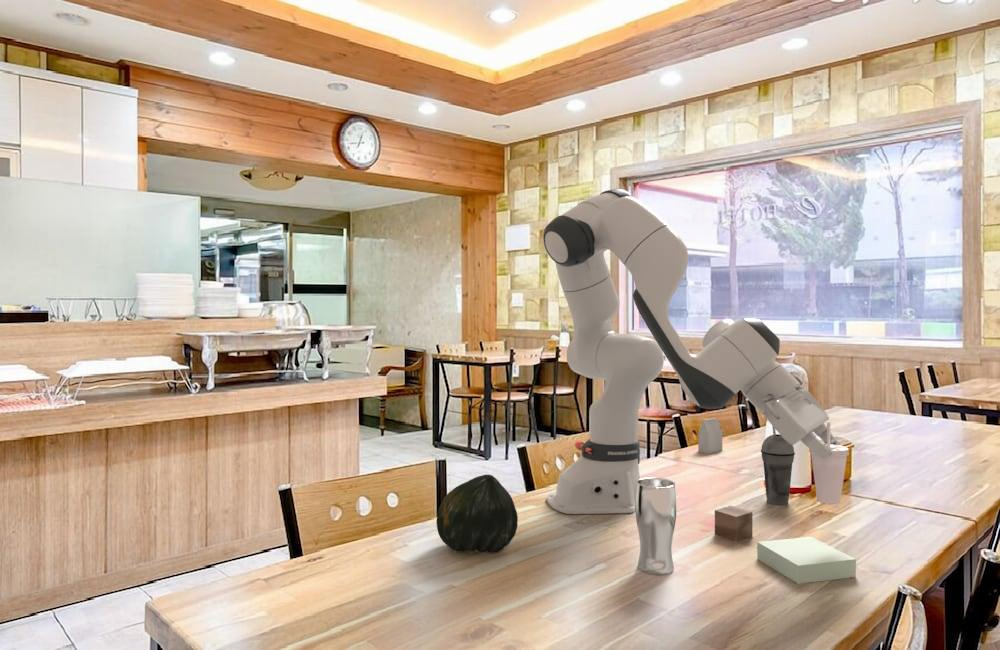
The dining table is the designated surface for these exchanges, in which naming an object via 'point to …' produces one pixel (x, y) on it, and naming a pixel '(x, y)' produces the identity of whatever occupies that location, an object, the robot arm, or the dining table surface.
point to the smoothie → (829, 472)
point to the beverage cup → (777, 468)
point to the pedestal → (806, 559)
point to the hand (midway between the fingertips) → (832, 452)
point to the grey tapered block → (710, 436)
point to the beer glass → (655, 524)
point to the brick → (733, 523)
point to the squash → (477, 516)
